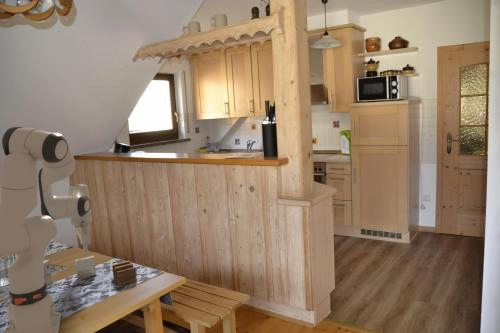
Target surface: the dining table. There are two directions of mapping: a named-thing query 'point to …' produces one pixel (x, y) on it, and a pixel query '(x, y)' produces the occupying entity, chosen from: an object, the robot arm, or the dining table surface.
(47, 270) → the light bulb box
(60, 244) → the dining table surface
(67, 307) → the dining table surface
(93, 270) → the aluminium panel
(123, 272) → the walnut rack
